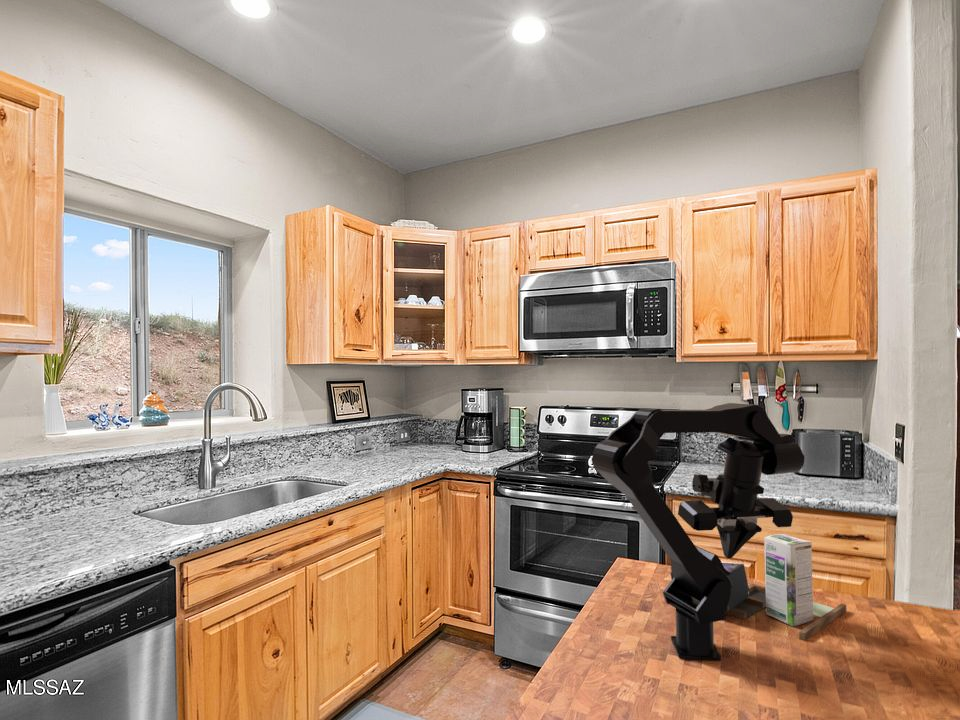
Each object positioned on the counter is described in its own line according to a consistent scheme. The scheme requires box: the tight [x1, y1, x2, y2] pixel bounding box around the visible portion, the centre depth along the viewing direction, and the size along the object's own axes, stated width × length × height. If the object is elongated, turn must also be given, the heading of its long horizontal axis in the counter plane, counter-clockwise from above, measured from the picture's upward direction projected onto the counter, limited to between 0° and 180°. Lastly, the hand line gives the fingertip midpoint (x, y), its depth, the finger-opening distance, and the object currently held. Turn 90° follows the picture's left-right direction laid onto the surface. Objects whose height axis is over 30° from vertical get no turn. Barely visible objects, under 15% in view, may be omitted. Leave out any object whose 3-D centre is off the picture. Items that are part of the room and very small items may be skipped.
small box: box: [670, 562, 750, 611], centre depth 106 cm, size 11×6×10 cm
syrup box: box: [763, 533, 814, 627], centre depth 100 cm, size 6×6×14 cm
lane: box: [726, 583, 847, 642], centre depth 103 cm, size 18×16×1 cm
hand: (727, 557), depth 97 cm, fingers closed
